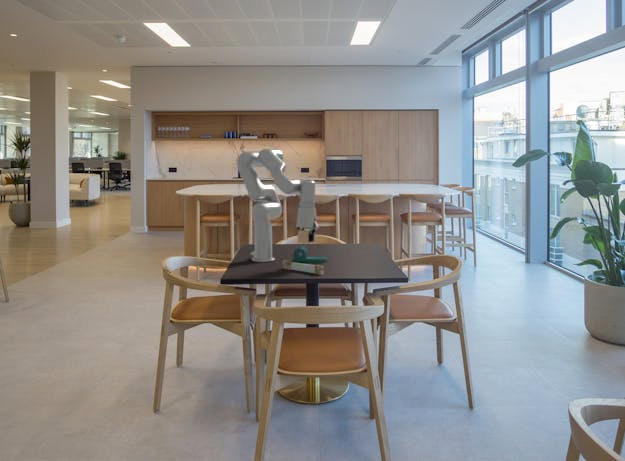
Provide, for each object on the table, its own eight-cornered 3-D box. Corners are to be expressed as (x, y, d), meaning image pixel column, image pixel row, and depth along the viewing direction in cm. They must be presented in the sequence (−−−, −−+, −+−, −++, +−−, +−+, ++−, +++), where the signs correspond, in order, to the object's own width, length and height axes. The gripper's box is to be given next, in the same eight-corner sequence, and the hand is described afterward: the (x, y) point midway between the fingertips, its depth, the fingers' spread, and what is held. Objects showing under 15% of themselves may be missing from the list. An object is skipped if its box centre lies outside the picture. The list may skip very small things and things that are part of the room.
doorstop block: (297, 242, 294) (298, 230, 293) (308, 240, 300) (308, 229, 299) (305, 243, 291) (305, 231, 290) (315, 241, 297) (315, 230, 296)
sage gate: (291, 269, 290) (291, 262, 289) (293, 268, 291) (293, 261, 291) (314, 273, 280) (314, 266, 280) (317, 272, 282) (317, 265, 281)
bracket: (293, 262, 311) (293, 248, 310) (295, 260, 318) (295, 246, 317) (326, 263, 309) (327, 248, 308) (328, 261, 315) (328, 247, 314)
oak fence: (282, 268, 293) (282, 260, 292) (285, 268, 294) (285, 259, 294) (321, 275, 277) (321, 266, 276) (324, 274, 279) (324, 265, 278)
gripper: (289, 204, 295) (289, 239, 298) (315, 206, 285) (315, 243, 287) (299, 203, 301) (298, 238, 304) (325, 205, 290) (324, 241, 293)
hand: (306, 240), depth 295 cm, fingers closed on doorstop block, 5 cm apart
